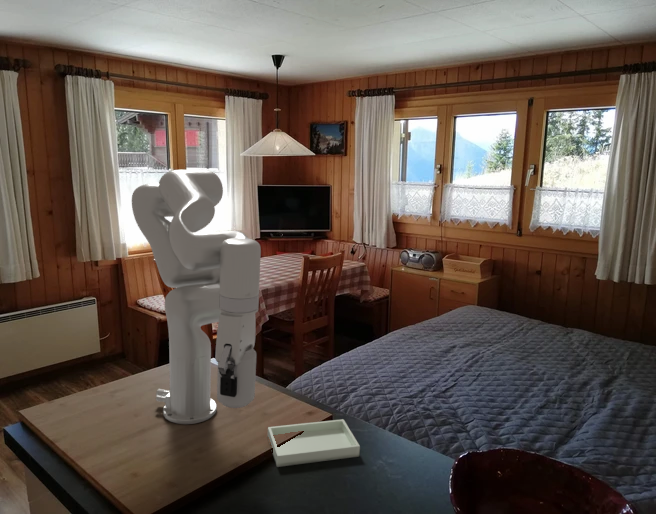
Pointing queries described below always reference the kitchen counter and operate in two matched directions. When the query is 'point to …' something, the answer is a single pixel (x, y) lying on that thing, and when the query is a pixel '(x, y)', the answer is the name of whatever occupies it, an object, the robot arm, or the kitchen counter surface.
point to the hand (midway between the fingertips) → (236, 385)
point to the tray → (314, 443)
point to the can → (241, 381)
